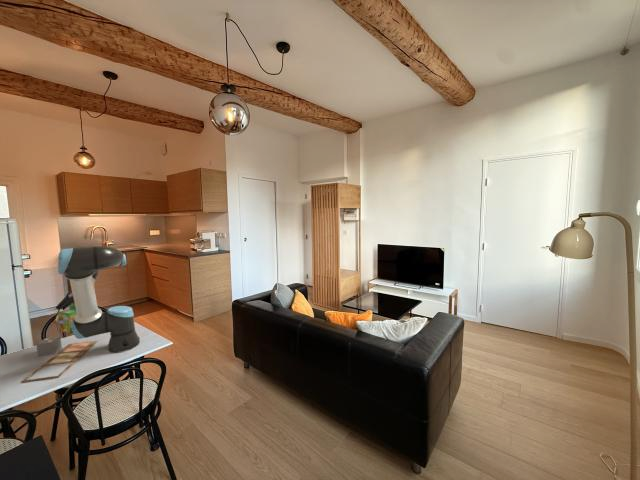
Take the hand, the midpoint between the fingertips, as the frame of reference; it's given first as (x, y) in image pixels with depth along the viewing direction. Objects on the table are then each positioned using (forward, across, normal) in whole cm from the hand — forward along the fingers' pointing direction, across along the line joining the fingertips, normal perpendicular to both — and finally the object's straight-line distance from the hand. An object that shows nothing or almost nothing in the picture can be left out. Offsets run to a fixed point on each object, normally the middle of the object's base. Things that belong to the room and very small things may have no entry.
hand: (69, 320), depth 152 cm
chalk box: (+3, 0, -7) cm, 7 cm away
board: (+19, -1, -7) cm, 20 cm away
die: (+12, +13, -14) cm, 22 cm away
